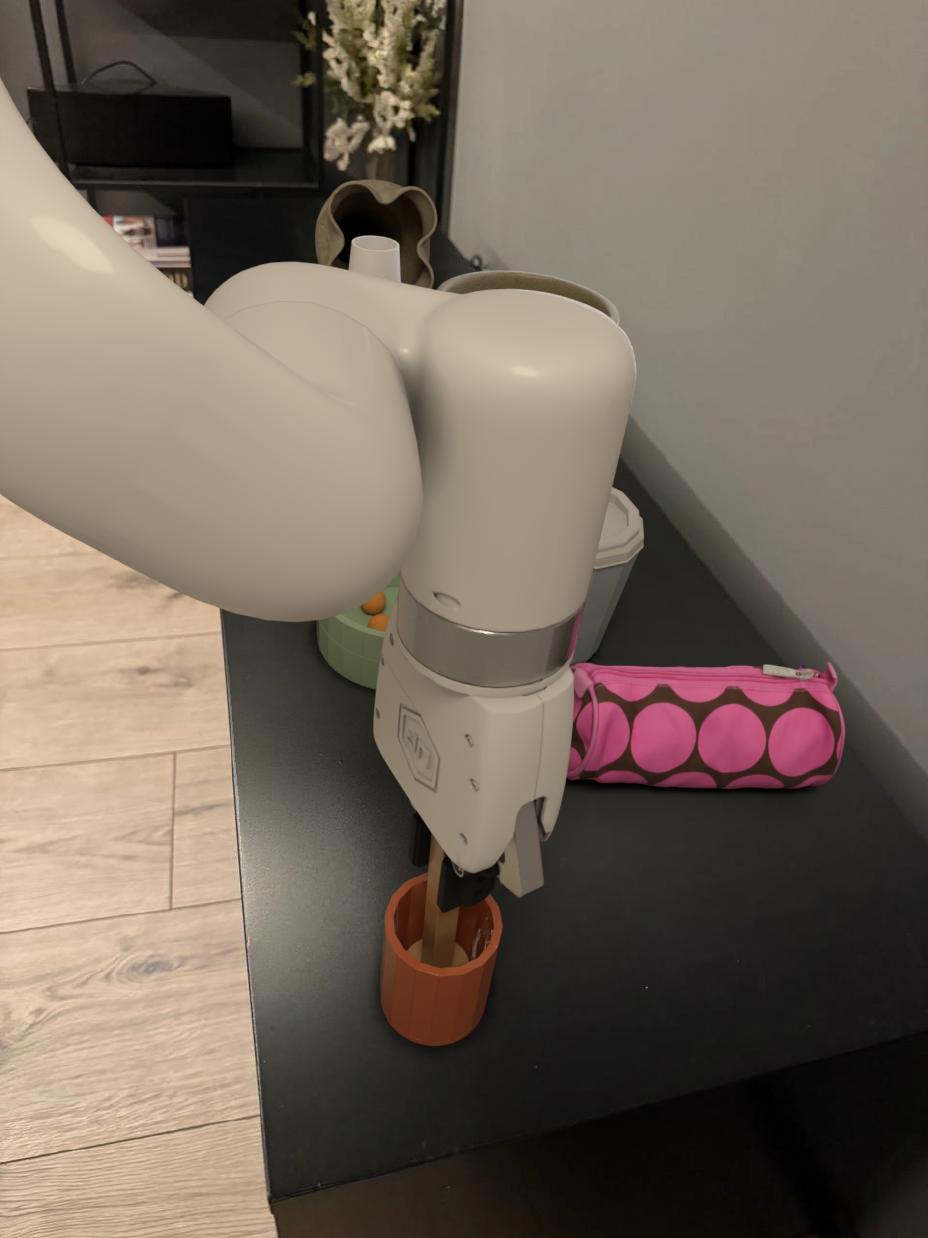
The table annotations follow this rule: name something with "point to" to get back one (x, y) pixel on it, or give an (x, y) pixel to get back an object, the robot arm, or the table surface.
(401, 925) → the crock
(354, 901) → the table surface
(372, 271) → the champagne flute
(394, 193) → the vase
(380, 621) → the ball
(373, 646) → the bowl
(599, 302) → the planter
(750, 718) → the pencil case
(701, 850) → the table surface
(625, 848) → the table surface
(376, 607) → the ball
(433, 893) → the wooden post with base
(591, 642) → the disposable coffee cup
